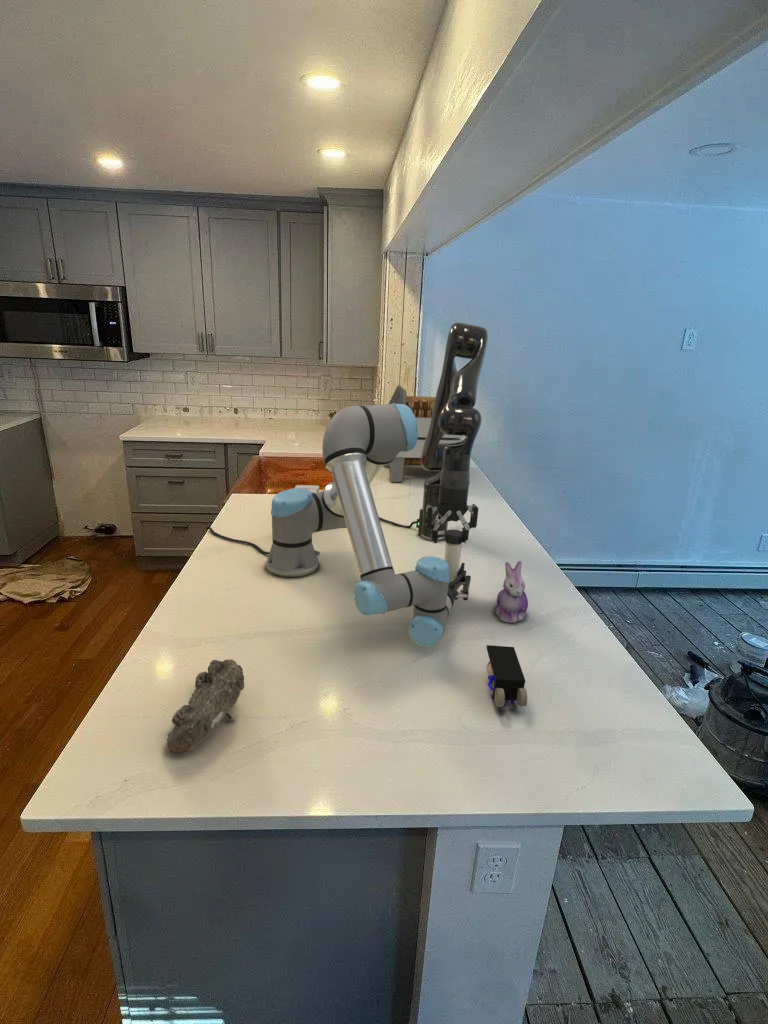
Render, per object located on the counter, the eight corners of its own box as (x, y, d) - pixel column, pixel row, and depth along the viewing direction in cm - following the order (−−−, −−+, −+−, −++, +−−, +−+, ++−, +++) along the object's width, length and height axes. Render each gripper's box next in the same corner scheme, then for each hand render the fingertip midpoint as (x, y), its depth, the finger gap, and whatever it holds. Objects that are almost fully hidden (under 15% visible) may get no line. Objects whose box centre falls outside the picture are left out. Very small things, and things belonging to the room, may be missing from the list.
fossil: (192, 660, 117) (244, 628, 112) (224, 691, 120) (276, 661, 115) (142, 746, 98) (202, 712, 93) (182, 779, 101) (242, 748, 96)
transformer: (382, 463, 289) (386, 382, 275) (445, 464, 293) (451, 384, 279) (390, 482, 257) (394, 392, 243) (460, 483, 261) (468, 394, 247)
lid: (450, 535, 157) (451, 527, 156) (466, 540, 154) (467, 532, 153) (440, 541, 153) (441, 532, 152) (457, 546, 150) (457, 537, 149)
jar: (459, 594, 159) (465, 535, 153) (450, 599, 156) (456, 539, 150) (447, 589, 162) (452, 531, 156) (438, 594, 159) (443, 535, 153)
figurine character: (526, 722, 112) (510, 670, 126) (532, 694, 109) (515, 643, 122) (492, 722, 112) (480, 669, 125) (498, 693, 109) (484, 642, 122)
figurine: (509, 627, 143) (516, 574, 138) (485, 609, 151) (491, 558, 146) (538, 620, 147) (546, 567, 142) (512, 602, 156) (519, 552, 151)
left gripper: (402, 610, 144) (423, 572, 165) (470, 623, 139) (483, 582, 161) (404, 583, 141) (425, 549, 163) (473, 596, 137) (486, 558, 158)
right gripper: (476, 479, 152) (470, 536, 158) (424, 479, 150) (420, 537, 156) (485, 488, 146) (478, 547, 151) (430, 488, 143) (426, 547, 149)
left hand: (454, 565), depth 162 cm, fingers closed on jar, 4 cm apart
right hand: (449, 541), depth 153 cm, fingers open, 7 cm apart
